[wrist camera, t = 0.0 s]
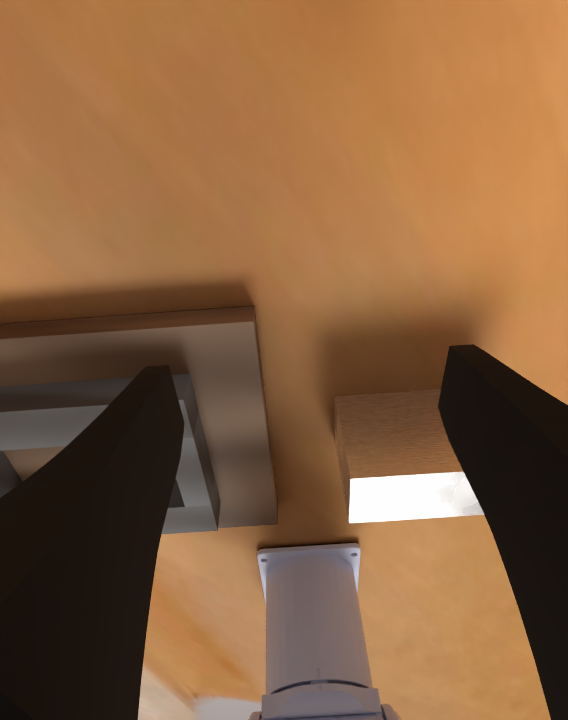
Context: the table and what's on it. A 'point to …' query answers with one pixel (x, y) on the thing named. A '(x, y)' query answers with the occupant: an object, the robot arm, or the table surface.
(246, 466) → the slot stand
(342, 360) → the table surface
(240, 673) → the table surface
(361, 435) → the gray rectangular block
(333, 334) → the table surface
